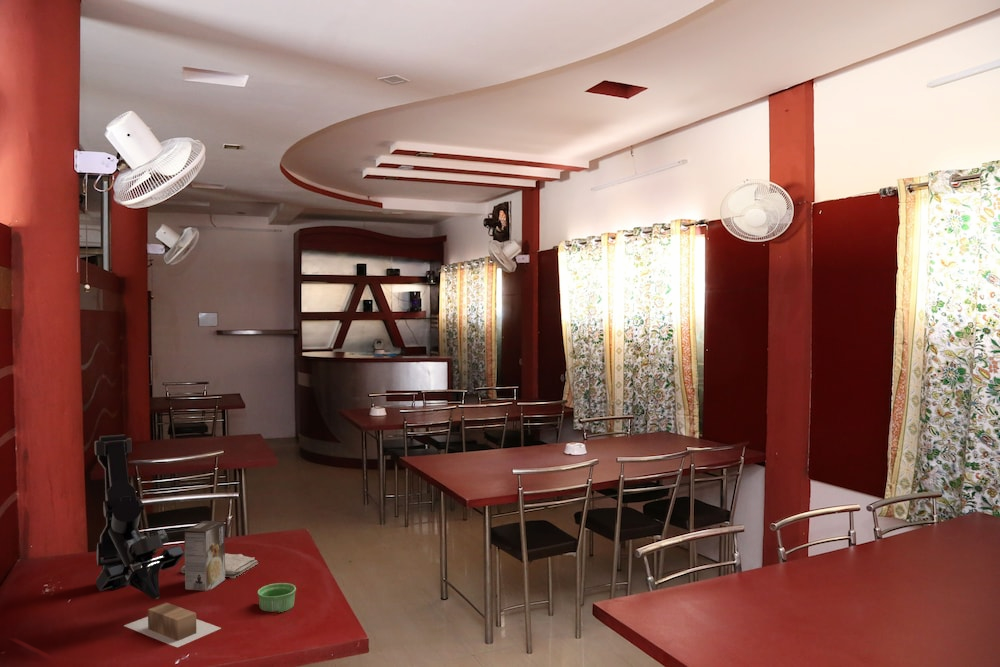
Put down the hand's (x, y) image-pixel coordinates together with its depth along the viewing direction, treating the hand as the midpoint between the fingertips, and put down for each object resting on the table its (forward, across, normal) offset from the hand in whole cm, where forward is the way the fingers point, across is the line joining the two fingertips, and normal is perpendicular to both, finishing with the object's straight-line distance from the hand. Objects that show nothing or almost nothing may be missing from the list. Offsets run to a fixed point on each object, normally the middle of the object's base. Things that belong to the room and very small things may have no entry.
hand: (157, 598), depth 161 cm
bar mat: (+8, +1, +2) cm, 8 cm away
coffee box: (-4, +22, +14) cm, 26 cm away
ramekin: (+15, +22, -5) cm, 27 cm away
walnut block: (+3, 0, +3) cm, 4 cm away
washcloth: (-9, +32, +20) cm, 39 cm away
